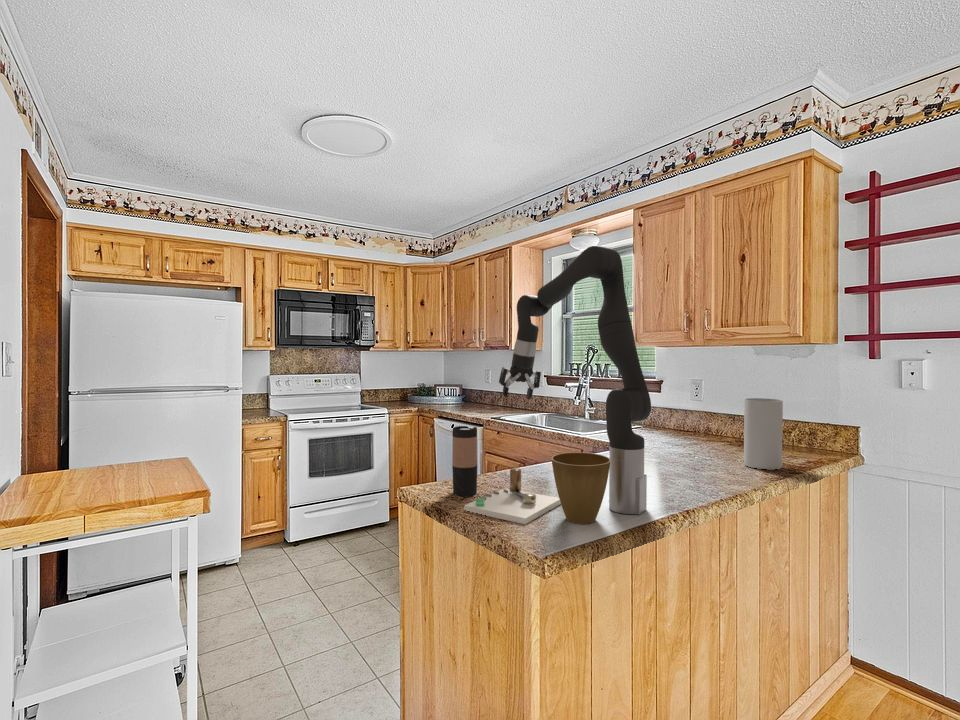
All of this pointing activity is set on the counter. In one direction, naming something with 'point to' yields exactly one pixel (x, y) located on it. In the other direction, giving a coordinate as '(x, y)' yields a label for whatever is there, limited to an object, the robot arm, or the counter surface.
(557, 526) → the counter surface
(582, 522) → the plant pot
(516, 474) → the dial lever
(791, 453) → the counter surface
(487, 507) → the square base plate
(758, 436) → the cylinder vase
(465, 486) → the travel mug
